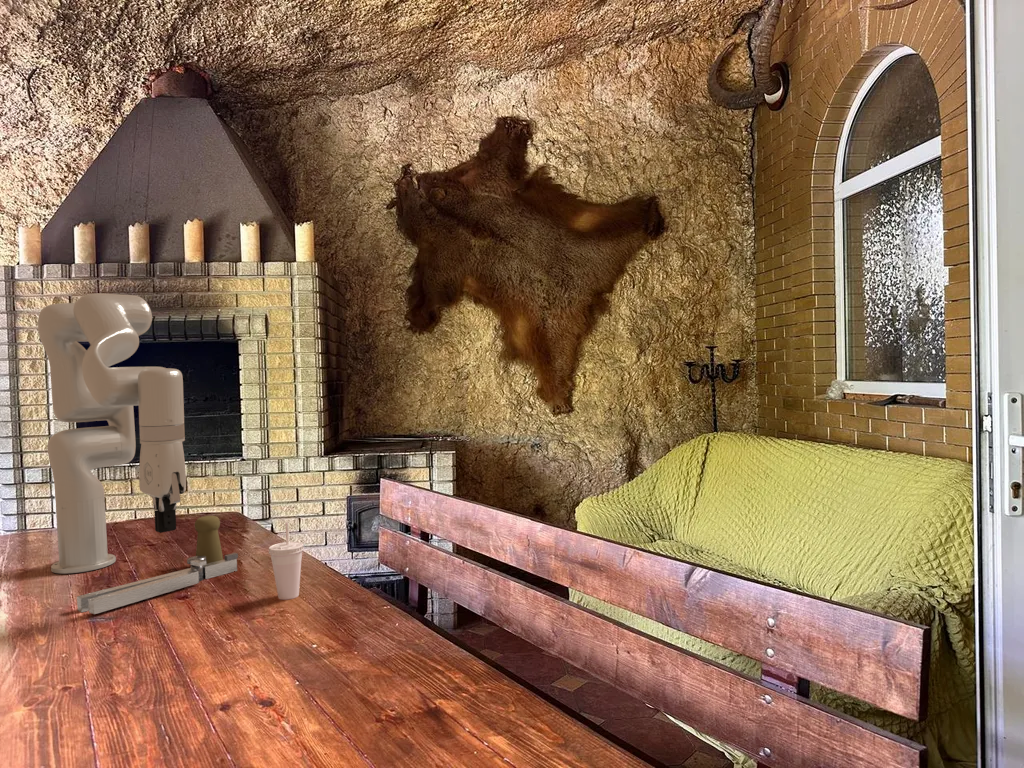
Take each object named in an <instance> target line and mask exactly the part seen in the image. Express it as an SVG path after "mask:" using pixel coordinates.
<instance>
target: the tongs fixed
mask: <svg viewBox="0 0 1024 768" xmlns="http://www.w3.org/2000/svg"><path fill="white" fill-rule="evenodd" d="M238 559H239V553H238V552H232V553H229V554H224V556H223V560H220V561H216V562H212V563H208V564H206V565H203V566H194V565H191V564H190V568H185V569H181V570H177V571H172V572H169V573H165V574H161V575H156V576H153V577H150V578H145V579H144V578H143V579H140V580H138V581H133V582H128V583H125V584H122V585H121V584H120V585H118V586H113V587H109V588H105V589H102V590H97V591H92V592H89V593H86V594H80V595H77V596H76V602H77V603H76V605H77V606H76V607H77V611H78V612H80V613H84V612H85V613H86V612H89V602H88V599H91V598H95V597H98V596H102V595H106V594H109V593H113V592H116V591H120V590H123V589H127V588H130V587H134V586H137V585H141V584H145V583H148V582H152V581H155V580H159V579H162V578H166V577H169V576H173V575H177V574H180V573H184V572H187V571H191V570H195V571H198V574H199V582H201V581H204V580H208V579H211V578H215V577H220V576H223V575H227V574H230V573H234V571H235V572H237V571H238Z"/></svg>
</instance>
